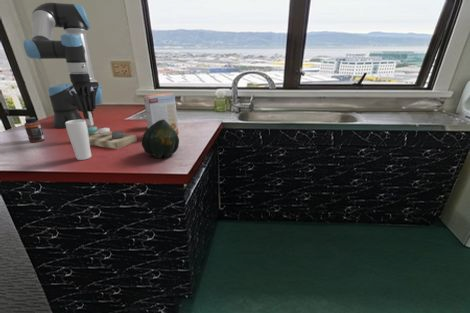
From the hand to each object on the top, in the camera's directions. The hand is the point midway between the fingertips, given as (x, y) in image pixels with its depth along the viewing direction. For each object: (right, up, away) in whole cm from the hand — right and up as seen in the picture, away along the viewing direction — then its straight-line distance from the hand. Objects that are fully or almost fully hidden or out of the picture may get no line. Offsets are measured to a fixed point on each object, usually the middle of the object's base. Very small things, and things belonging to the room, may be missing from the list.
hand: (90, 125), depth 118 cm
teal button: (0, -3, +1) cm, 3 cm away
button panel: (+7, -8, 0) cm, 11 cm away
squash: (+39, -14, -15) cm, 44 cm away
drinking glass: (+9, -16, -19) cm, 26 cm away
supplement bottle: (-26, -8, +1) cm, 28 cm away
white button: (+7, -4, -1) cm, 9 cm away
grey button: (+15, -6, -4) cm, 17 cm away
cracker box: (+33, -5, +9) cm, 34 cm away
